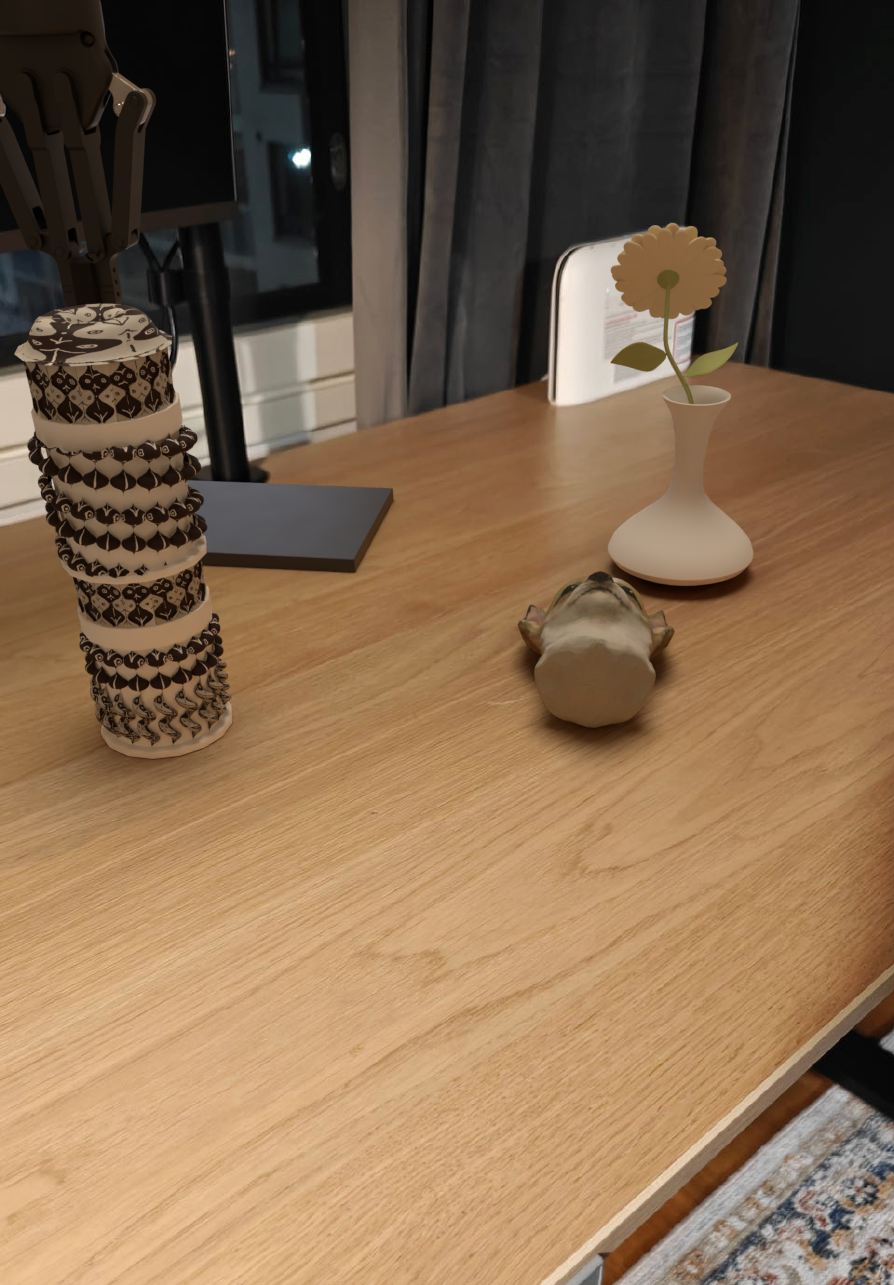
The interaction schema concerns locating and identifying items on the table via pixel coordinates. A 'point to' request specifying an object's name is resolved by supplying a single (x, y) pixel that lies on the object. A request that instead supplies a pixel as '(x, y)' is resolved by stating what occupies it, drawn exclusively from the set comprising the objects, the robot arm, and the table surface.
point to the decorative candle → (128, 526)
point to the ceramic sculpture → (595, 650)
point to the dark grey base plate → (290, 524)
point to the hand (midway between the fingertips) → (103, 354)
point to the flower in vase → (678, 417)
